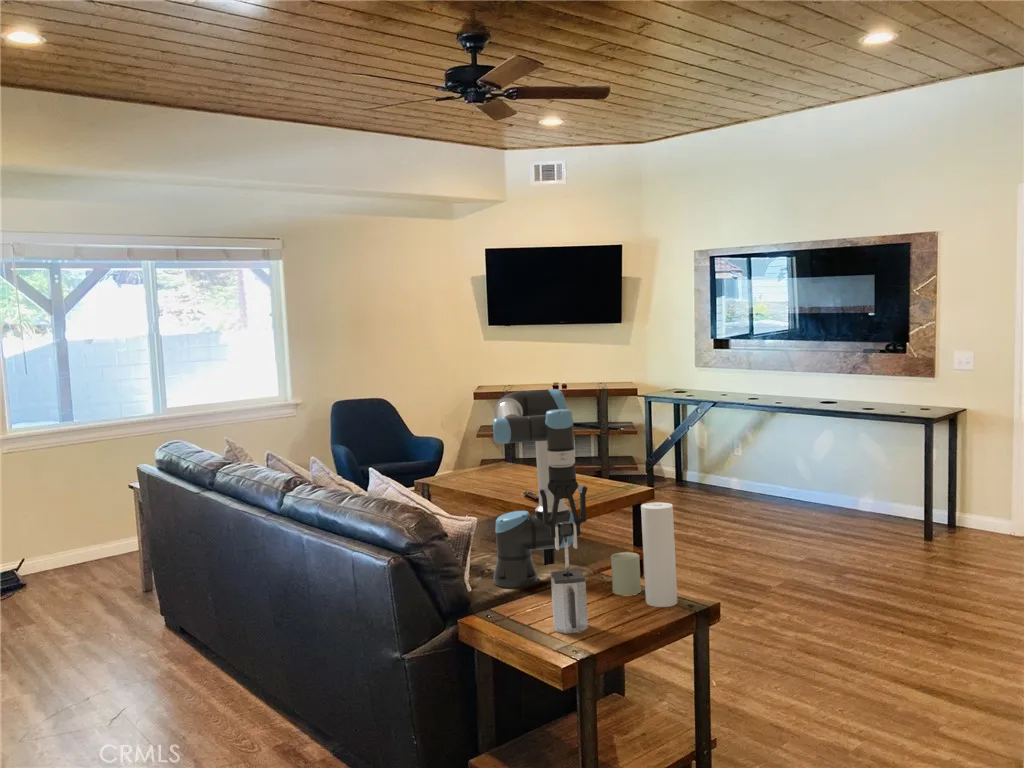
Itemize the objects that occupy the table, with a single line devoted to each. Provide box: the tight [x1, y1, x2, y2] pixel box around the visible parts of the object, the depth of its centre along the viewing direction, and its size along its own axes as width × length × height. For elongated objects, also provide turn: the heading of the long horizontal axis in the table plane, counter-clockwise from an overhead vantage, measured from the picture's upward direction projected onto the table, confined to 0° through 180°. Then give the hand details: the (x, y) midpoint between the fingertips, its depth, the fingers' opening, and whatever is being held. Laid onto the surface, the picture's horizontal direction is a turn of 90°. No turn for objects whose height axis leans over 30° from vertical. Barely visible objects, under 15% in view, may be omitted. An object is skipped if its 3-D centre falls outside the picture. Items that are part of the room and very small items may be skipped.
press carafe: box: [550, 569, 589, 635], centre depth 213 cm, size 12×10×15 cm
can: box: [610, 551, 642, 595], centre depth 243 cm, size 9×9×12 cm
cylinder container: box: [640, 501, 678, 608], centre depth 231 cm, size 9×9×30 cm
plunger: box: [557, 522, 573, 576], centre depth 214 cm, size 7×7×20 cm
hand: (566, 547), depth 214 cm, fingers closed on plunger, 4 cm apart
